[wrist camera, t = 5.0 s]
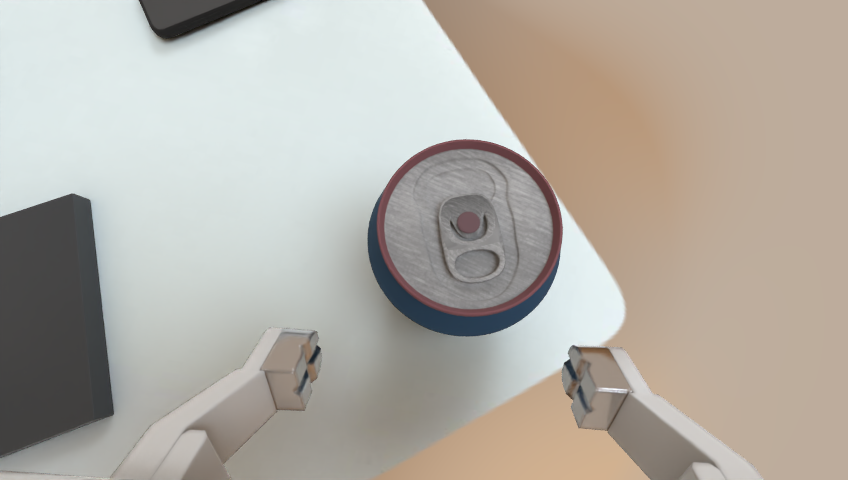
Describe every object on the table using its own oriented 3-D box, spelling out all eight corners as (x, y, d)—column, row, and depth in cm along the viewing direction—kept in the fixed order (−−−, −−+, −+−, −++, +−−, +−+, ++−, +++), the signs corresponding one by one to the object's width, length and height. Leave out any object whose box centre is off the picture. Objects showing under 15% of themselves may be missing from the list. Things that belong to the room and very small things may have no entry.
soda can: (389, 237, 22) (345, 139, 11) (488, 221, 23) (550, 108, 11) (403, 341, 21) (370, 358, 9) (511, 322, 21) (614, 316, 9)
